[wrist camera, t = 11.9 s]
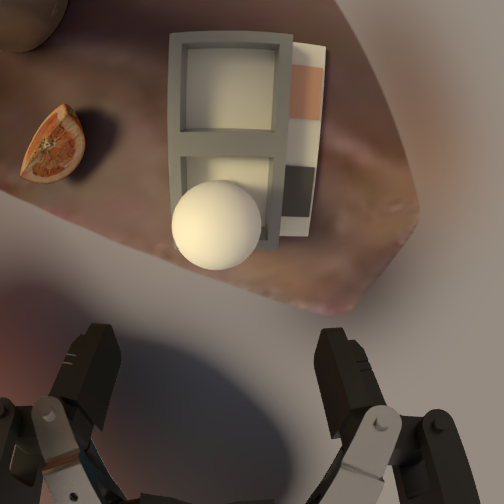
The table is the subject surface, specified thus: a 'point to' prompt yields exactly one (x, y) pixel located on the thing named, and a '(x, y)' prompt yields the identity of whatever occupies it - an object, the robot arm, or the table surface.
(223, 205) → the lightbulb
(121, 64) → the table surface
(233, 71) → the socket board
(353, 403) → the robot arm
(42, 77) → the table surface
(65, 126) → the fruit slice
